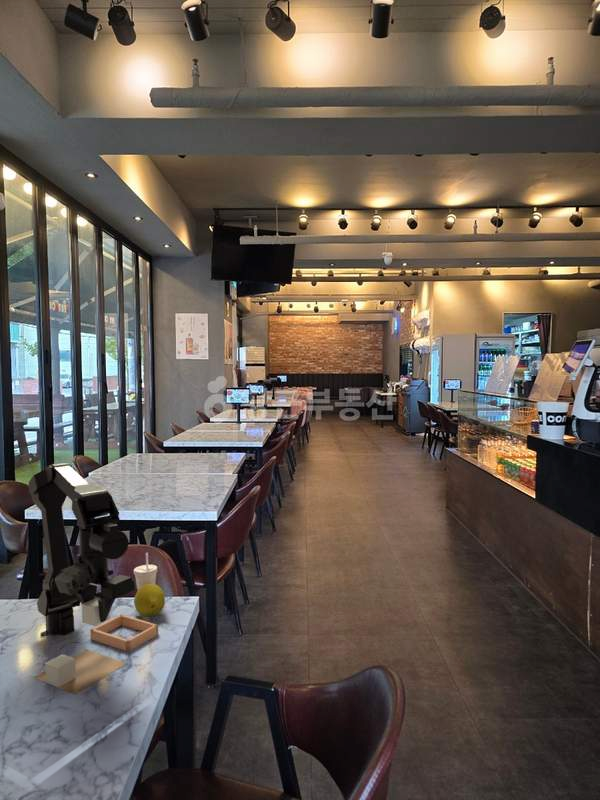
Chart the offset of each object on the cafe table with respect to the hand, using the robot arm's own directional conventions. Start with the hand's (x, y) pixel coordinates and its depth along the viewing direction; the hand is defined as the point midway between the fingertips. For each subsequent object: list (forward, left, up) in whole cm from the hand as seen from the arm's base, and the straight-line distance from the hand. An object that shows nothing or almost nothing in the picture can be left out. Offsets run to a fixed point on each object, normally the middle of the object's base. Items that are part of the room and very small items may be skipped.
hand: (96, 619), depth 118 cm
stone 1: (0, -9, -9) cm, 13 cm away
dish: (-3, +11, -10) cm, 15 cm away
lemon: (-8, +23, -10) cm, 27 cm away
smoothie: (-15, +29, -10) cm, 34 cm away
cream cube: (0, 0, 0) cm, 0 cm away
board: (0, -4, -10) cm, 11 cm away
